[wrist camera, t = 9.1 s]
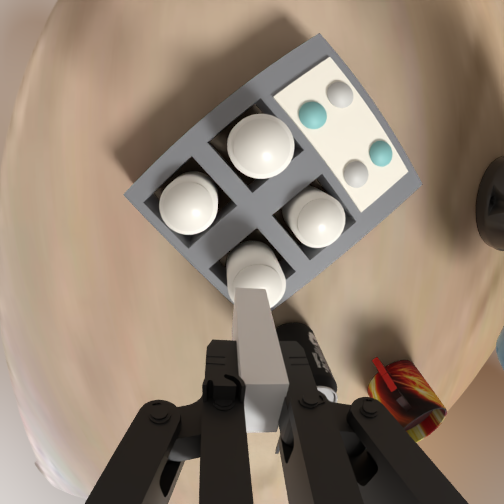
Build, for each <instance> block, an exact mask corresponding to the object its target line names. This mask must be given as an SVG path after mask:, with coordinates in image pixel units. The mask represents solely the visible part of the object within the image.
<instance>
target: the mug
mask: <svg viewBox="0 0 504 504" xmlns="http://www.w3.org/2000/svg"><path fill="white" fill-rule="evenodd" d="M372 361H373V363H374V365H375V366H376V368H377V369H378V371H379V372H378V373H377V374H376V375H375V376H374V377H373V379H372V380H371V382H370V384H369V386H368V394H369V396H370V398H374V399H376V400H378V401H380V402H381V403H382V404H383V405H384V406H385V407H386V408H387V410H388V411H389V412H390V413H391V414H392V415H393V416H394V418H395V419H396V420H397V421H398V422H399V423H400V425H401V426H402V427H403V428H404V429H405V430H406V432H407V433H408V434H409V435H410V436H411V437H412V439H413V440H414V441H415V442H416V443H417V442H419V441H420V440H422V439H424V438H425V437H426V436H428V435H430V434H431V433H432V432H433V431H434V430H435V429H436V428H438V426H439V425H440V424H441V423H442V422H443V420H444V418H445V417H446V414H447V410H446V408H445V407H444V405H443V404H442V403H441V401H440V400H439V398H438V397H437V395H436V394H435V393H434V391H433V390H432V388H431V387H430V386H429V384H428V383H427V382H426V380H425V379H424V377H423V376H422V375H421V373H420V372H419V371H418V369H417V368H416V367H415V365H414V364H413V363H412V362H411V361H409V360H400V361H396V362H394V363H391V364H389V365H388V366H386V367H385V366H384V365H383V364H382V363H381V362H380V360H379V359H378V357H376V358H375V359H373V360H372Z"/></svg>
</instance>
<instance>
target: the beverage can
mask: <svg viewBox="0 0 504 504" xmlns="http://www.w3.org/2000/svg"><path fill="white" fill-rule="evenodd" d="M276 333H277V337H278V341H297V342H298V343H299V344H300V345H301V346H302V347H303V348H304V351H305V354H306V358H307V360H308V363H309V366H310V369H311V371H312V374H313V377H314V380H315V383H316V386H317V389H318V391H320V392H322V393H323V394H325V396H326V397H327V399H328V400H329V401H332V402H335V403H336V402H337V394H336V392H337V384H336V382H335V380H334V377H333V375H332V373H331V371H330V369H329V366H328V364H327V362H326V360H325V357H324V355H323V353H322V351H321V349H320V346H319V344H318V342H317V340H316V338H315V335H314V333H313V331H312V330H311V329H310V328H309V327H308V326H306V325H304V324H301V323H288V324H284V325H282V326H280V327H278V328H276Z"/></svg>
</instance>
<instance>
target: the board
mask: <svg viewBox="0 0 504 504" xmlns="http://www.w3.org/2000/svg"><path fill="white" fill-rule="evenodd" d="M254 104H256V106H257V107H258V108H259V109H260V110H261V111H262V112H263V114H268V115H272V116H274V117H277V118H278V119H280V120H281V121H283V122H284V123H285V124H286V125H287V127H288V128H289V129H290V131H291V133H292V136H293V139H294V154H293V157H292V159H291V162H290V163H289V165H288V166H287V167H286V168H285V169H284V170H283V171H282V172H281V173H279V174H278V175H276V176H273V177H270V178H265V179H255V180H254V181H253V182H252V183H251V184H250V185H247V184H246V183H245V182H244V181H243V179H242V178H241V177H240V176H239V175H238V174H237V173H236V172H235V170H234V169H233V168H232V167H231V166H230V165H229V164H228V163H227V161H226V160H225V159H224V158H223V157H222V156H221V155H220V154H219V153H218V151H217V150H216V149H215V148H214V147H213V146H212V145H211V144H210V143H209V141H211V140H212V139H213V138H214V137H215V136H216V135H218V134H219V133H220V132H221V131H222V130H223V129H225V128H226V127H227V126H228V125H229V124H231V123H232V122H233V121H234V120H236V119H237V118H238V117H239V116H240V115H242V114H243V113H244V112H245V111H247V110H248V109H249V108H250V107H252V106H253V105H254ZM191 157H193V158H194V159H195V160H196V161H197V162H198V163H199V164H200V165H201V167H202V168H203V169H204V170H205V171H206V172H207V173H208V174H209V175H210V176H211V177H212V179H213V180H214V181H215V182H216V183H217V184H218V185H219V186H220V187H221V188H222V190H223V191H224V192H225V193H226V194H227V195H228V196H229V197H230V198H231V199H232V200H231V201H230V202H229V203H227V204H226V205H225V206H224V207H223V208H222V209H220V210H219V211H218V212H217V214H216V217H215V219H214V221H213V222H212V224H211V225H210V226H209V227H208V228H207V229H205V230H204V231H202V232H200V233H197V234H192V235H185V234H180V233H177V232H175V231H173V230H172V229H170V228H169V227H168V226H167V225H166V224H165V222H164V221H163V219H162V217H161V214H160V209H159V202H160V200H159V199H158V198H157V197H156V196H155V195H154V193H155V192H156V191H157V190H158V189H159V188H160V187H161V186H162V185H163V184H164V183H165V182H166V181H167V180H168V179H169V178H170V177H171V176H172V175H173V174H174V173H175V172H176V171H177V170H178V169H179V168H181V167H182V166H183V165H184V164H185V163H186V162H187V161H188V160H189V159H190V158H191ZM315 179H317V180H318V181H319V183H320V184H321V185H322V187H323V188H324V189H325V191H326V192H327V193H328V195H330V196H332V197H333V198H335V199H336V200H337V201H339V203H340V204H341V205H342V207H343V209H344V212H345V226H344V229H343V231H342V233H341V235H340V236H339V238H338V239H337V240H336V241H335V242H333V243H332V244H330V245H328V246H326V247H322V248H312V247H309V246H306V245H305V244H303V243H302V244H300V245H298V243H297V242H296V241H295V240H294V239H293V238H292V236H291V235H290V234H289V233H288V232H287V230H286V229H285V228H284V227H283V226H282V224H281V223H280V222H279V221H278V220H277V219H276V217H275V216H274V215H273V214H274V213H275V212H276V211H278V210H279V209H280V208H281V207H282V206H284V205H285V204H286V203H287V202H288V201H290V200H291V199H292V198H293V197H294V196H296V195H297V194H298V193H299V192H300V191H302V190H303V189H304V188H305V187H307V186H308V185H309V184H310V183H311V182H313V181H314V180H315ZM421 185H422V182H421V180H420V178H419V177H418V175H417V173H416V171H415V169H414V167H413V165H412V163H411V162H410V160H409V158H408V156H407V155H406V153H405V151H404V149H403V148H402V146H401V144H400V142H399V141H398V139H397V137H396V136H395V134H394V133H393V131H392V129H391V128H390V126H389V125H388V123H387V121H386V120H385V118H384V117H383V115H382V114H381V112H380V111H379V109H378V108H377V106H376V105H375V103H374V102H373V100H372V99H371V98H370V96H369V95H368V93H367V92H366V91H365V89H364V88H363V86H362V85H361V84H360V82H359V81H358V80H357V78H356V77H355V76H354V74H353V73H352V72H351V70H350V69H349V68H348V67H347V65H346V64H345V63H344V62H343V60H342V59H341V58H340V57H339V55H338V54H337V53H336V52H335V51H334V49H333V48H332V47H331V46H330V45H329V43H328V42H327V41H326V40H325V39H324V38H323V37H322V35H321V34H320V33H319V34H317V35H316V36H314V37H312V38H311V39H309V40H308V41H306V42H304V43H303V44H301V45H300V46H298V47H297V48H295V49H294V50H292V51H291V52H289V53H288V54H286V55H285V56H283V57H282V58H280V59H279V60H277V61H276V62H275V63H273V64H272V65H270V66H269V67H267V68H266V69H265V70H263V71H262V72H261V73H259V74H258V75H256V76H255V77H254V78H252V79H251V80H250V81H248V82H247V83H246V84H244V85H243V86H242V87H241V88H239V89H238V90H237V91H235V92H234V93H233V94H232V95H230V96H229V97H228V98H227V99H225V100H224V101H223V102H222V103H220V104H219V105H218V106H217V107H215V108H214V109H213V110H212V111H211V112H209V113H208V114H207V115H206V116H205V117H204V118H202V119H201V120H200V121H199V122H198V123H197V124H196V125H194V126H193V127H192V128H191V129H190V130H189V131H188V132H186V133H185V134H184V135H183V136H182V137H181V138H180V139H179V140H178V141H177V142H176V143H174V144H173V145H172V146H171V147H170V148H169V149H168V150H167V151H166V152H165V153H164V154H163V155H162V156H161V157H160V158H159V159H158V160H157V161H156V162H155V163H154V164H153V165H152V166H151V167H150V168H149V169H148V170H147V171H146V172H145V173H144V174H143V175H142V176H141V177H140V178H139V179H138V180H137V181H136V182H135V183H134V184H133V185H132V186H131V187H130V188H129V189H128V190H127V191H126V192H125V193H124V194H123V195H124V196H125V197H126V198H127V199H128V200H129V201H130V202H131V203H132V205H133V206H134V207H135V208H136V209H137V210H138V211H139V212H140V213H141V214H142V215H143V216H144V217H145V218H146V219H147V220H148V221H149V222H150V223H151V224H152V225H153V226H154V227H155V228H156V229H157V230H158V231H159V232H160V233H161V234H162V235H163V236H164V237H165V238H166V239H167V241H168V242H169V243H170V244H171V245H172V246H173V247H174V248H175V249H176V250H177V251H178V252H179V253H181V254H182V255H183V256H184V257H185V258H186V259H187V260H188V261H189V262H190V263H191V264H192V265H193V266H194V267H195V268H196V269H197V270H198V271H199V272H200V273H201V274H202V275H203V276H204V277H205V278H206V279H207V280H208V281H209V282H210V283H211V284H212V285H213V286H214V287H215V288H217V289H218V290H219V291H220V292H221V293H222V294H223V295H224V296H225V297H226V298H227V299H228V300H229V301H230V302H231V303H232V304H234V302H233V301H232V300H231V298H230V296H229V293H228V286H227V269H226V268H225V267H224V266H223V265H222V264H221V263H220V262H219V261H218V260H219V259H221V258H222V257H223V256H224V255H225V254H226V253H228V252H229V251H230V250H231V249H232V248H234V247H235V246H236V245H237V244H238V243H239V242H241V241H242V240H243V239H244V238H245V237H247V236H248V235H249V234H250V233H251V232H252V231H254V230H255V229H256V228H258V229H259V231H260V232H261V233H262V234H263V235H264V236H265V237H266V238H267V240H268V241H269V242H270V243H271V244H272V245H273V246H274V247H275V249H276V250H277V251H278V252H279V253H280V254H281V255H282V256H283V259H282V260H281V261H280V262H278V263H279V265H280V267H281V269H282V271H283V274H284V276H285V279H286V289H285V292H284V295H283V297H282V298H281V300H280V301H279V302H278V303H277V304H276V305H274V306H273V307H271V308H270V309H271V311H272V310H274V309H275V308H276V307H278V306H279V305H280V304H282V303H283V302H284V301H285V300H287V299H288V298H289V297H291V296H292V295H293V294H294V293H296V292H297V291H298V290H299V289H301V288H302V287H303V286H305V285H306V284H307V283H308V282H310V281H311V280H312V279H313V278H315V277H316V276H317V275H318V274H320V273H321V272H322V271H323V270H324V269H326V268H327V267H328V266H329V265H331V264H332V263H333V262H334V261H335V260H337V259H338V258H339V257H340V256H342V255H343V254H344V253H345V252H346V251H348V250H349V249H350V248H351V247H352V246H353V245H355V244H356V243H357V242H358V241H359V240H361V239H362V238H363V237H364V236H365V235H366V234H368V233H369V232H370V231H371V230H372V229H373V228H375V227H376V226H377V225H378V224H379V223H380V222H381V221H383V220H384V219H385V218H386V217H387V216H388V215H389V214H391V213H392V212H393V211H394V210H395V209H396V208H397V207H398V206H399V205H401V204H402V203H403V202H404V201H405V200H406V199H407V198H408V197H409V196H411V195H412V194H413V193H414V192H415V191H416V190H417V189H418V188H419V187H420V186H421Z"/></svg>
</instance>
